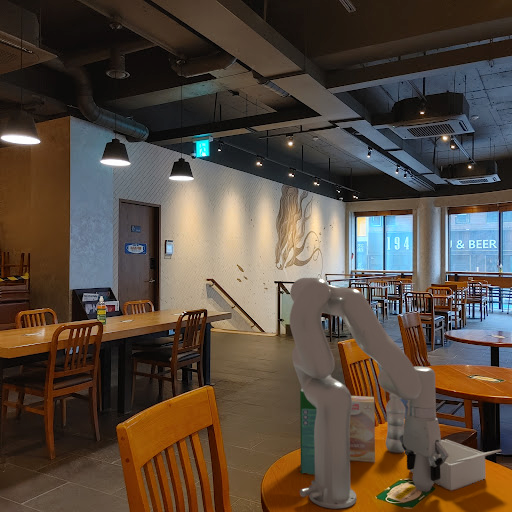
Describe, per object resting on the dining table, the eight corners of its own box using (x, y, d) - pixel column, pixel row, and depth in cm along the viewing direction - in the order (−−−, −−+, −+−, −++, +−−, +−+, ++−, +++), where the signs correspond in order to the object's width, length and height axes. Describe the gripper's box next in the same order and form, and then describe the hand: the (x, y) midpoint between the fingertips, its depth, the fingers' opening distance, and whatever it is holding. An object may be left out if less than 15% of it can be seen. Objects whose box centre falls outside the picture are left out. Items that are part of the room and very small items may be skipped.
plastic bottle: (391, 446, 166) (390, 389, 167) (409, 451, 161) (408, 392, 162) (382, 451, 161) (381, 392, 162) (400, 457, 157) (399, 396, 157)
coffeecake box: (328, 459, 155) (327, 399, 156) (330, 451, 162) (329, 393, 163) (375, 462, 152) (374, 401, 153) (374, 454, 159) (374, 396, 160)
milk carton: (330, 475, 142) (329, 391, 143) (300, 473, 144) (300, 390, 145) (331, 464, 151) (331, 385, 152) (303, 462, 153) (303, 384, 154)
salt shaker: (436, 486, 134) (435, 440, 135) (431, 494, 130) (430, 446, 130) (415, 482, 138) (414, 436, 138) (410, 489, 133) (409, 442, 133)
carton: (450, 491, 132) (449, 464, 132) (407, 471, 145) (406, 446, 145) (486, 478, 139) (486, 453, 140) (442, 461, 153) (442, 437, 153)
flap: (452, 461, 133) (453, 463, 132) (470, 458, 128) (471, 460, 128) (482, 452, 139) (483, 454, 139) (501, 449, 134) (501, 450, 134)
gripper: (389, 405, 140) (390, 466, 139) (438, 421, 125) (439, 489, 124) (407, 402, 144) (409, 461, 143) (456, 417, 129) (458, 482, 128)
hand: (423, 473), depth 134 cm, fingers open, 7 cm apart
